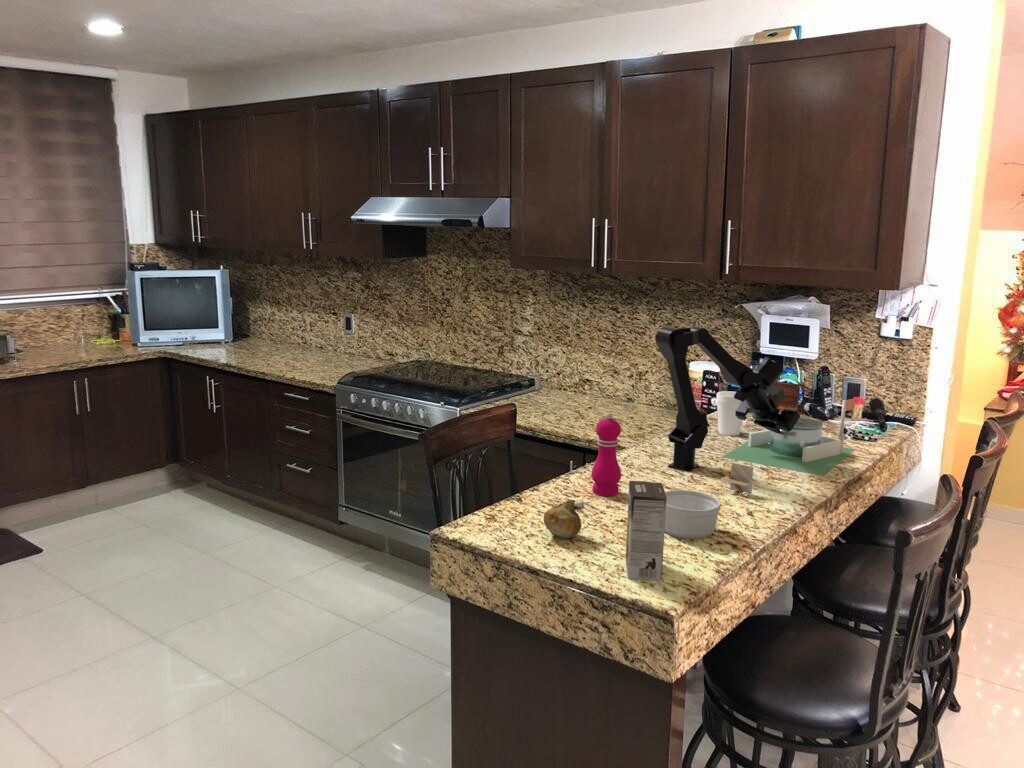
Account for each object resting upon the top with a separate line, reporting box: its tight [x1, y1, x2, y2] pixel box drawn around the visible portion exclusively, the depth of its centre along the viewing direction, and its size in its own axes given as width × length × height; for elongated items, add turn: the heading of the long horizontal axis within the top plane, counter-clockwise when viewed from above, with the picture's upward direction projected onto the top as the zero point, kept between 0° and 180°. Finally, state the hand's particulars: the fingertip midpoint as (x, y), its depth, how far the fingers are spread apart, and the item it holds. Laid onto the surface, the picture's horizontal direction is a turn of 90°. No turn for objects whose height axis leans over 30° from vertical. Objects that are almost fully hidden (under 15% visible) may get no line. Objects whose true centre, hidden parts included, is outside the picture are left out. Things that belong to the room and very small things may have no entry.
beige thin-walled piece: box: [747, 398, 856, 462], centre depth 237 cm, size 22×20×16 cm
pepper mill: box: [590, 412, 622, 497], centre depth 192 cm, size 7×7×20 cm
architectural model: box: [720, 462, 754, 496], centre depth 196 cm, size 3×7×8 cm, turn 48°
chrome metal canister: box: [769, 416, 824, 457], centre depth 235 cm, size 14×14×9 cm
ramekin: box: [665, 489, 721, 540], centre depth 170 cm, size 13×13×7 cm
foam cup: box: [715, 390, 743, 437], centre depth 254 cm, size 10×9×13 cm
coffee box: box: [625, 480, 667, 582], centre depth 148 cm, size 9×6×16 cm
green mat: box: [721, 441, 856, 477], centre depth 233 cm, size 35×28×1 cm
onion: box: [543, 499, 585, 539], centre depth 165 cm, size 8×8×8 cm
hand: (778, 432), depth 231 cm, fingers closed
